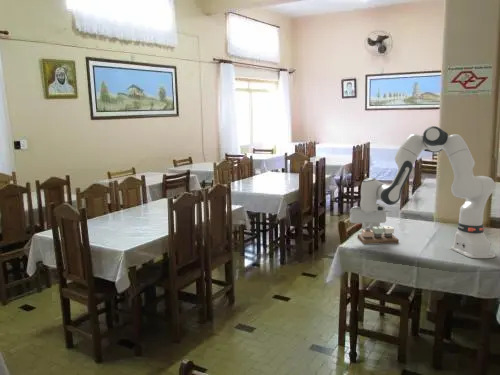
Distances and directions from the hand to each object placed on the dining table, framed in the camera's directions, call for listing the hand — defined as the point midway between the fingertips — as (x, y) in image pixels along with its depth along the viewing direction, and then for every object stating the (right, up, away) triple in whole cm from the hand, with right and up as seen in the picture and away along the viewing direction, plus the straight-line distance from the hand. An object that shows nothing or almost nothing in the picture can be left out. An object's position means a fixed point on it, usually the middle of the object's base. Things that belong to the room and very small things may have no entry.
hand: (367, 230), depth 252 cm
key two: (+6, -3, 0) cm, 7 cm away
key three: (0, -5, +1) cm, 5 cm away
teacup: (+7, -3, +19) cm, 20 cm away
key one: (+12, -3, 0) cm, 12 cm away
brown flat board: (+6, -6, +1) cm, 8 cm away
